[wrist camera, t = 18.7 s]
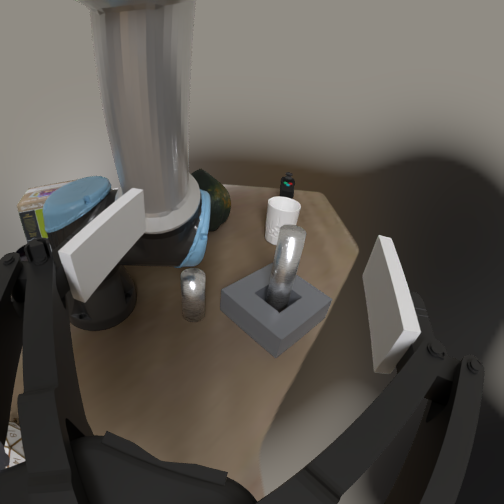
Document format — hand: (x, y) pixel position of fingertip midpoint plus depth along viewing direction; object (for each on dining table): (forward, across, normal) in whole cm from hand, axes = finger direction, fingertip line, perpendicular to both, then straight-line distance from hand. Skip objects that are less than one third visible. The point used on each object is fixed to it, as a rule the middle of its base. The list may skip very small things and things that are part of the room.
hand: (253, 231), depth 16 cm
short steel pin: (+21, -11, -32) cm, 40 cm away
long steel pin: (+25, +3, -32) cm, 41 cm away
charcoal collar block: (+25, +3, -32) cm, 41 cm away
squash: (+51, -20, -32) cm, 64 cm away
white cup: (+51, 0, -32) cm, 61 cm away
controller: (+70, 0, -32) cm, 77 cm away
